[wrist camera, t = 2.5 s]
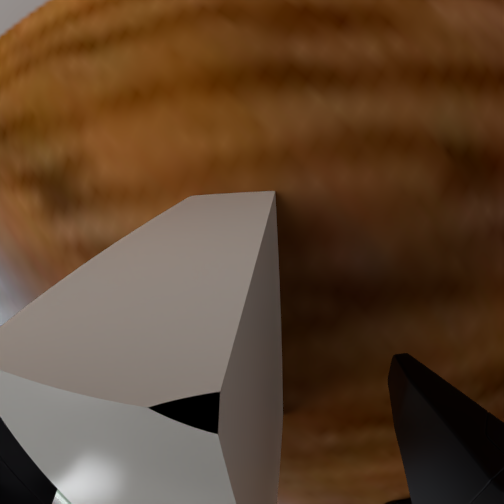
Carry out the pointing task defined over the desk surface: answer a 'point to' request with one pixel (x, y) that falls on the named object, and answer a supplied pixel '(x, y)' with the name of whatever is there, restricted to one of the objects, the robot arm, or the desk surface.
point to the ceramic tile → (158, 363)
